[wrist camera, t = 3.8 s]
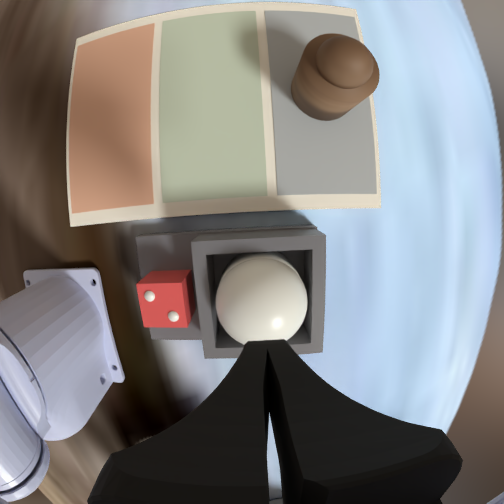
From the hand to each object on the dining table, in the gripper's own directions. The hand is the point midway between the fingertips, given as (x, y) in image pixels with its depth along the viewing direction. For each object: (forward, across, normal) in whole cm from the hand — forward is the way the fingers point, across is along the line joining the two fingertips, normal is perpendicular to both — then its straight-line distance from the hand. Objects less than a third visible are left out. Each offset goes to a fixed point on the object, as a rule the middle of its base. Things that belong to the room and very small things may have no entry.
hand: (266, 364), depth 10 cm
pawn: (+9, -4, -12) cm, 16 cm away
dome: (+8, 0, 0) cm, 8 cm away
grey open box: (+9, +2, 0) cm, 10 cm away
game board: (+9, +2, -12) cm, 15 cm away
